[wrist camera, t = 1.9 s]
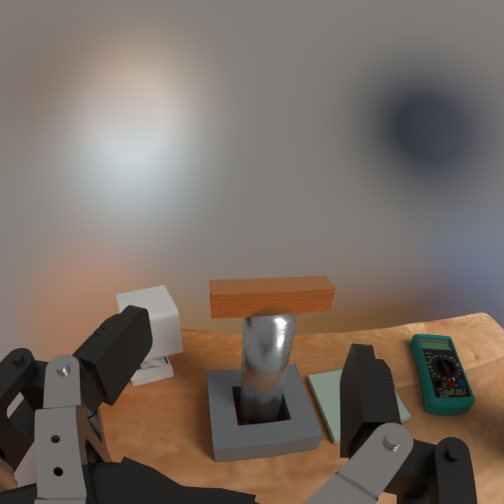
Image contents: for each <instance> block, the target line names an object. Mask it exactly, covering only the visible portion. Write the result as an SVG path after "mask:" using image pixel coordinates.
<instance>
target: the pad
mask: <svg viewBox="0 0 504 504" xmlns="http://www.w3.org/2000/svg"><path fill="white" fill-rule="evenodd" d="M342 370H343V369H342ZM342 370H337V371H331V372H325V373H319V374H312V375H308V378H307V380H308V383H309V385H310V388H311V390H312V393H313V395H314V398H315V400H316V403H317V405H318V407H319V410H320V412H321V415H322V417H323V420H324V422H325V425H326V427H327V430H328V432H329V435H330V437H331V440H332V442H333V444H335V443H339V442H340V378H341V374H342ZM394 391H395V390H394ZM395 393H396V392H395ZM396 398H397V403H398V408H399V413H400V419H401V423H402V422H405V421H408V420H409V419H410V417H411V415H410V414H409V412H408V410H407V409H406V407H405V406H404V404H403V403H402V401H401V399H400V398H399V396H398V395H397V393H396Z"/></svg>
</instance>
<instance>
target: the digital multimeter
mask: <svg viewBox="0 0 504 504" xmlns="http://www.w3.org/2000/svg"><path fill="white" fill-rule="evenodd" d="M410 346H411V349H412V352H413V355H414V358H415V362H416V365H417V369H418V373H419V377H420V382H421V388H422V393H423V400H424V408H425V411H426V412H428V413H433V414H438V415H455V414H459V413H463V412H466V411H468V410H469V409H470V407H471V406H472V405H473V403H474V402H475V399H474V397H473V394H472V391H471V389H470V386H469V383H468V381H467V378H466V376H465V373H464V370H463V368H462V365H461V363H460V360H459V357H458V355H457V352H456V350H455V347H454V344H453V342H452V339H451V338H450V337H449V336H441V335H429V334H416V335H414V336H413V338H412V340H411V343H410ZM424 356H425V357H424ZM444 358H445V359H444ZM425 359H426V360H425ZM447 359H448V360H447ZM426 363H427V364H426ZM427 366H428V367H427ZM428 370H429V371H428ZM431 381H432V382H431ZM432 385H433V386H432Z"/></svg>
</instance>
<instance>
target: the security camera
mask: <svg viewBox="0 0 504 504" xmlns="http://www.w3.org/2000/svg"><path fill="white" fill-rule="evenodd" d="M116 299H117V304H118V309H119V313H121V312H122V311H123V310H124V309H125V308H126V307H127V306H128V305H133V306H137V307H142V308H146V309H147V310H148V313H149V319H150V325H151V331H152V337H153V343H152V348H151V350H150V352H149V353H148V355H147V356H146V358H145V359H144V361H143V362H142V364H141V365H140V366H139V367H141V369H140V370H137V371H136V372H135V374H134V375H133V377H132V378H131V379H130V380H131V383H132V385H133V386H138V385H142V384H146V383H150V382H154V381H158V380H162V379H166V378H170V377H173V376H174V373H173V368H172V366H171V364H170V361H169V359H168V357H167V356H169V355H173V354H177V353H181V352H183V346H182V338H181V329H180V320H179V313H178V310H177V307H176V306H175V304H174V302H173V300H172V298H171V296H170V295H169V293H168V291H167V289H166V287H165V285H161V286H156V287H151V288H146V289H141V290H136V291H131V292H125V293H120V294H116Z"/></svg>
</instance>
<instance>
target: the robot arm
mask: <svg viewBox="0 0 504 504" xmlns="http://www.w3.org/2000/svg"><path fill="white" fill-rule="evenodd" d="M152 343H153V337H152V331H151V325H150V319H149V313H148V310H147V309H146V308H142V307H137V306H133V305H128V306H127V307H126V308H125V309H124V310H123V311H122V312H121V313H120V314H115V315H113V316H112V317H110V318H108V319H106V320H105V321H104V323H102V324H101V325H100V326H99V328H97V329H96V331H95V332H94V334H92V335H91V336H90V337H89V338H88V339H87V340H86V341H85V342H84V343H83V344H82V345H81V346H80V347H79V348H78V349H77V350H76V352H75V353H74V354H73V355H72V356H71V355H60V356H57V357H55V358H53V359H52V360H51V361H50V362H43V361H37V360H35V359H34V357H33V355H32V353H31V351H30V350H28V349H26V348H19V349H15V350H13V351H12V352H10V353H9V354H8V355H7V356H6V357H5V358H4V359H3V360H2V361H1V362H0V504H260V503H257V502H255V497H256V495H252V494H247V493H241V492H236V491H231V490H226V489H222V488H200V487H186V486H182V485H180V484H178V483H176V482H175V481H173V480H171V479H170V478H168V477H166V476H165V475H163V474H161V473H160V472H158V471H157V470H155V469H154V468H151V467H149V466H146V465H144V464H141V463H139V462H136V461H134V460H131V459H129V458H126V457H124V458H123V459H122V461H121V463H117V462H112V460H111V457H110V455H109V453H108V450H107V447H106V442H105V437H104V431H103V425H102V418H101V411H100V408H99V406H100V404H101V403H102V402H104V403H106V404H108V405H111V406H113V404H114V403H115V401H116V400H117V398H118V397H119V395H120V394H121V393H122V391H123V390H124V388H125V387H126V385H127V384H128V382H129V381H130V379H131V378H132V377H133V375H134V374H135V372H136V371H137V369H138V368H139V366H140V365H141V364H142V362H143V361H144V359H145V358H146V356H147V355H148V353H149V352H150V350H151V348H152ZM392 381H393V379H392V374H391V370H390V368H389V367H388V365H387V364H386V363H385V361H384V360H383V359H375V355H374V350H373V346H372V345H364V344H352V345H351V348H350V350H349V353H348V356H347V359H346V362H345V365H344V368H343V370H342V374H341V378H340V458H349V461H348V462H347V463H346V464H345V465H344V466H343V467H342V469H341V470H340V471H338V472H337V473H335V474H334V475H333V476H332V477H331V478H330V479H329V480H328V481H327V482H326V483H325V484H324V485H323V486H322V487H321V488H319V489H318V490H317V491H316V492H315V493H314V494H313V495H312V496H311V497H310V498H308V499H307V500H306V501H305V502H304V503H303V504H376V503H377V501H378V497H379V495H380V494H381V493H382V492H386V493H391V494H395V495H397V504H477V496H476V488H475V480H474V474H473V468H472V462H471V457H470V452H469V449H468V447H467V445H466V444H465V443H464V442H463V441H462V440H460V439H458V438H455V437H448V438H445V439H443V440H441V441H440V442H439V443H438V444H437V445H435V444H430V443H426V442H422V441H418V440H416V439H413V437H412V435H411V433H410V432H409V430H408V429H407V428H405V427H404V426H402V424H401V419H400V413H399V408H398V403H397V398H396V393H395V391H394V389H395V388H394V383H393V382H392ZM19 392H21V394H22V395H23V397H24V399H23V401H22V402H21V403H20V404H19V406H18V407H17V408H16V410H15V411H14V412H13V414H12V415H11V416H10V418H8V417H7V408H8V406H9V405H10V404H11V402H12V401H13V400H14V399H15V397H16V396H17V395H18V394H19ZM34 441H35V468H36V482H37V483H34V484H30V485H26V486H23V487H19V488H17V486H18V484H17V481H16V480H15V479H14V477H15V476H14V472H15V471H16V469H17V467H18V466H19V464H20V462H21V461H22V459H23V457H24V456H25V454H26V453H27V451H28V450H29V448H30V447H31V445H32V444H33V442H34Z"/></svg>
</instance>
